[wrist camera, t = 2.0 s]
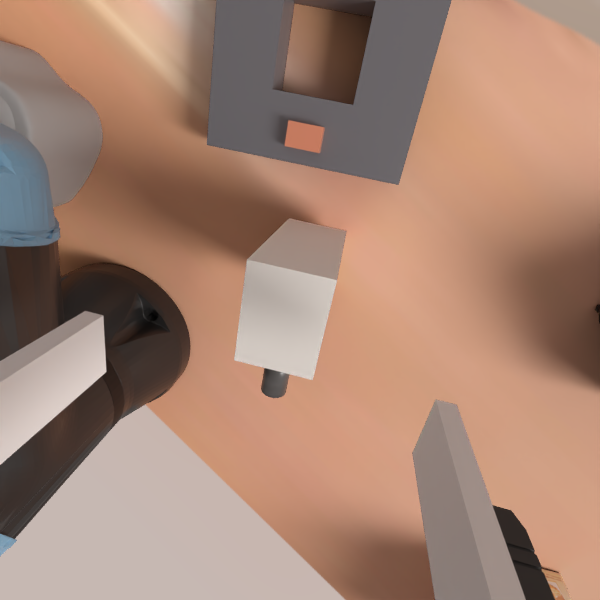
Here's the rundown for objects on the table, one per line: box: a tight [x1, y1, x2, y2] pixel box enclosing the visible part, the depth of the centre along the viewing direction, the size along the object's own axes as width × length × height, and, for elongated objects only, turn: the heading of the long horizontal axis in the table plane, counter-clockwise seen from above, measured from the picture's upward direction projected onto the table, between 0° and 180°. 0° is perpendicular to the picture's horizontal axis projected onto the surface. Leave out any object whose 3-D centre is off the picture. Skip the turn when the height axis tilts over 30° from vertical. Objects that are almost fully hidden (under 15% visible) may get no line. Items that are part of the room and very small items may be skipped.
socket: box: [207, 0, 451, 185], centre depth 24 cm, size 14×14×4 cm
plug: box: [234, 218, 346, 398], centre depth 25 cm, size 9×4×14 cm, turn 170°
